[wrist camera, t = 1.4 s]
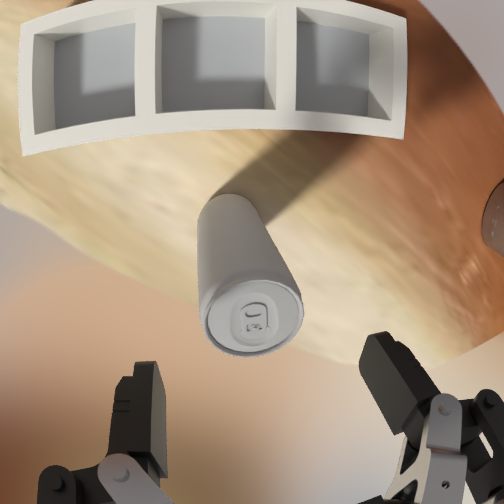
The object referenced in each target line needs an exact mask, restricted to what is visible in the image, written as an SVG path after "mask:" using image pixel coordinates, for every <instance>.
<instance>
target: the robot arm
mask: <svg viewBox="0 0 504 504" xmlns="http://www.w3.org/2000/svg"><path fill="white" fill-rule="evenodd" d="M482 236H483V240H484V242H485V244H486V245H487V246H489V247H490V248H491V249H493V250H494V251H496V252H497V253H498V254H500V255H501V256H502V257H504V182H503V183H501V184H500V185H499V186H498V187H497V188H496V189H495V190H494V192H493V193H492V195H491V197H490V199H489V201H488V203H487V206H486V209H485V212H484V216H483V221H482ZM420 365H421V364H420V363H419V362H418V360H417V359H415V356H414V355H413V353H412V352H411V351H410V349H409V348H408V347H406V346H405V345H404V344H402V343H401V342H399V341H395V340H394V339H393V337H392V336H391V335H390V333H389V332H387V331H384V332H380V333H375V334H371V335H369V336H368V337H367V339H366V342H365V345H364V348H363V351H362V354H361V357H360V360H359V370H360V373H361V376H362V377H363V379H364V381H365V383H366V385H367V386H368V388H369V390H370V392H371V394H372V395H373V397H374V399H375V401H376V403H377V405H378V406H379V408H380V410H381V412H382V414H383V416H384V418H385V419H386V421H387V423H388V425H389V427H390V429H391V431H392V432H393V434H394V435H396V434H399V433H402V432H404V433H405V435H406V436H405V438H404V440H403V445H402V449H401V454H400V458H399V463H398V466H397V470H396V474H395V477H394V480H393V481H392V483H391V485H390V486H389V488H388V490H387V492H386V495H385V498H384V499H383V498H382V496H381V495H379V496H377V497H374V498H372V499H369V500H367V501H364V502H361V503H358V504H462V499H463V493H464V486H465V480H466V483H467V485H468V487H469V489H470V491H471V493H472V495H473V498H474V500H475V502H476V504H504V402H503V401H502V399H501V398H500V396H499V395H498V394H497V393H496V392H494V391H493V390H490V389H483V390H481V391H480V392H479V393H478V394H477V396H476V397H475V398H474V399H467V400H457V398H455V397H454V396H452V395H450V394H442V393H441V392H440V391H439V390H438V388H437V387H436V385H435V384H434V383H433V381H432V380H431V378H430V377H429V375H428V374H427V373H426V371H425V370H424V368H423V367H422V366H420ZM482 432H483V434H484V436H485V437H486V439H487V441H488V443H489V444H490V446H491V448H492V450H493V458H491V457H490V455H489V453H488V451H487V450H486V448H485V446H484V444H483V443H482V441H481V439H480V437H479V435H480V433H482ZM160 478H168V471H167V445H166V395H165V389H164V385H163V382H162V378H161V375H160V372H159V368H158V365H157V362H156V361H146V362H135V365H134V372H133V376H123V377H122V379H121V380H120V382H119V383H118V385H117V387H116V389H115V396H114V404H113V413H112V418H111V428H110V436H109V446H108V452H107V454H106V456H105V458H104V459H103V460H102V461H101V462H100V463H99V464H98V465H96V466H94V467H90V468H85V469H80V470H75V471H69V470H68V469H66V468H64V467H62V466H58V465H53V466H49V467H47V468H46V469H44V470H43V471H42V473H41V474H40V477H39V482H38V495H37V504H175V503H174V502H172V500H171V499H170V498H169V497H167V495H166V494H165V493H164V492H163V491H162V490H161V489H160Z"/></svg>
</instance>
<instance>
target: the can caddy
mask: <svg viewBox="0 0 504 504" xmlns="http://www.w3.org/2000/svg"><path fill="white" fill-rule="evenodd" d="M406 94H407V26H406V18H403V17H400V16H397V15H395V14H392V13H389V12H385V11H382V10H379V9H376V8H372V7H369V6H365V5H362V4H358V3H354V2H350V1H346V0H93V1H89V2H86V3H82V4H78V5H75V6H71V7H68V8H64V9H61V10H58V11H55V12H52V13H49V14H46V15H43V16H41V17H38V18H35V19H33V20H30V21H28V22H25V23H23V24H21V29H20V40H19V55H18V109H19V125H20V137H21V146H22V155H23V156H26V155H31V154H35V153H39V152H44V151H48V150H53V149H58V148H63V147H68V146H73V145H79V144H84V143H90V142H96V141H103V140H110V139H117V138H124V137H132V136H141V135H150V134H160V133H172V132H185V131H202V130H227V129H287V130H312V131H329V132H342V133H353V134H364V135H373V136H382V137H389V138H397V139H403V137H404V126H405V112H406Z"/></svg>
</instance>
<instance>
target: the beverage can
mask: <svg viewBox="0 0 504 504" xmlns="http://www.w3.org/2000/svg"><path fill="white" fill-rule="evenodd" d="M197 256H198V293H199V317H200V321H201V323H202V326H203V330H204V332H205V335H206V337H207V339H208V340H209V341H210V342H211V344H212V345H213V346H214V347H215V348H217V349H218V350H220V351H221V352H223V353H226V354H229V355H232V356H236V357H245V358H246V357H258V356H262V355H266V354H269V353H271V352H274V351H276V350H278V349H280V348H281V347H283V346H284V345H286V344H287V343H288V342H290V340H291V339H292V338H293V337H294V336H295V335H296V334H297V332H298V330H299V329H300V327H301V325H302V321H303V317H304V309H303V303H302V299H301V293H300V290H299V288H298V286H297V284H296V282H295V280H294V278H293V276H292V274H291V273H290V271H289V269H288V267H287V265H286V263H285V261H284V260H283V258H282V256H281V254H280V253H279V251H278V249H277V247H276V246H275V244H274V242H273V241H272V239H271V237H270V235H269V233H268V231H267V229H266V228H265V226H264V224H263V222H262V220H261V218H260V216H259V214H258V213H257V211H256V209H255V207H254V206H253V205H252V203H251V202H250V201H249V200H247V199H246V198H244V197H243V196H240V195H237V194H223V195H219V196H217V197H215V198H213V199H211V200H210V201H209V202H208V203H207V204H206V205H205V206H204V208H203V209H202V211H201V213H200V215H199V218H198V224H197Z"/></svg>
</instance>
